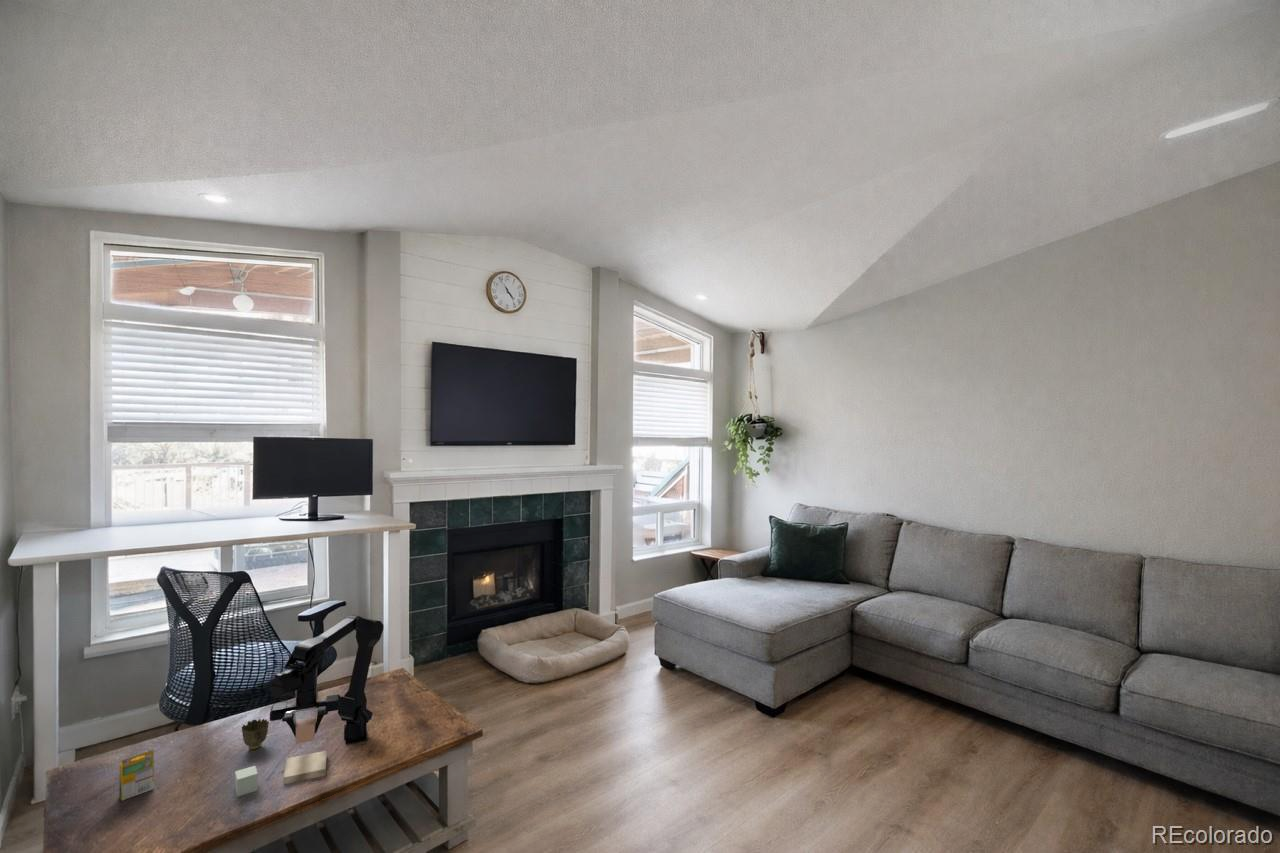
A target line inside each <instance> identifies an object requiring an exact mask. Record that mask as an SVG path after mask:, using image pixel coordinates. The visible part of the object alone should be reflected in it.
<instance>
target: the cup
mask: <svg viewBox="0 0 1280 853" xmlns="http://www.w3.org/2000/svg"><path fill="white" fill-rule="evenodd" d="M269 725H270V724H269V720H267V719H266V718H263V719H261V718H259V719H258V720H257V719H254V718H253V719H252V720H251V721H250V720H248V722H247V723H246V724H242V726H241V733H242V740H243V743H244V744H245V745H246V746H248V747H247V749H248V750H249V751H257V750H259V749H261V747H262V745H263V744H262V743H263V742H264V741H265V740H266V739H267V736H268V730H269Z"/></svg>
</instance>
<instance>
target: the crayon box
mask: <svg viewBox="0 0 1280 853" xmlns="http://www.w3.org/2000/svg"><path fill="white" fill-rule="evenodd" d="M154 750H155V749H152V750H148V751H145V752H142V753H139V754H136V755H133V756H130V757H127V758H124V759H121V762H119V791H118V792H119V793H118V796H119V797H118V798H119V799H120V801H122V802H123V801H125V800H127V799H131V798H133V797H136V796H138V795H140V794H144V793H147V792H150V791H153V790H154V789H155V788H154V787H155V786H154V784H155V783H154V782H155V781H154V780H155V779H154V778H155V775H154V772H155V767H154V766H155V765H154V764H155V763H154V762H155V759H154V755H155V754H154Z"/></svg>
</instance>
